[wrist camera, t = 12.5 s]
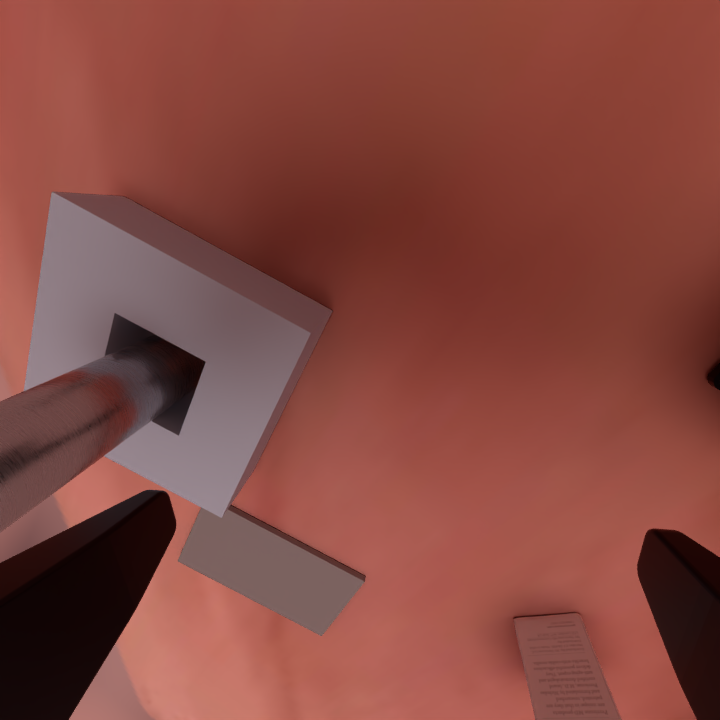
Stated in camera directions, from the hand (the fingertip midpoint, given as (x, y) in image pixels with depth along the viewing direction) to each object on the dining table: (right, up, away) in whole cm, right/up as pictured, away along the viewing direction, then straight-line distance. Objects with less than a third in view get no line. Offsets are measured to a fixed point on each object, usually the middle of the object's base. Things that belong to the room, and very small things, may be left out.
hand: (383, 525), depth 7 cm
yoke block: (-10, +4, +14) cm, 18 cm away
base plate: (-7, -12, +20) cm, 24 cm away
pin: (-10, +4, +14) cm, 18 cm away
